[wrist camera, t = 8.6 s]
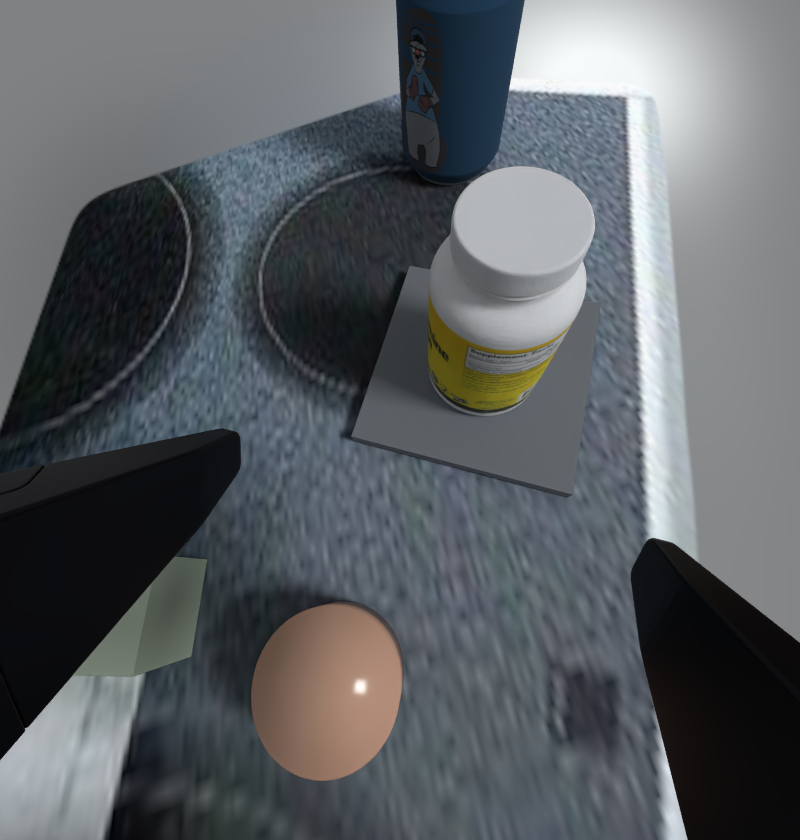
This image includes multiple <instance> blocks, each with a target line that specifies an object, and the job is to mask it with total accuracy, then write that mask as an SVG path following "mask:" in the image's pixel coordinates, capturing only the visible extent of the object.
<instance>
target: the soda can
mask: <svg viewBox="0 0 800 840" xmlns="http://www.w3.org/2000/svg"><path fill="white" fill-rule="evenodd" d="M524 1H525V0H396V8H397V30H398V54H399V76H400V99H401V121H402V143H403V150H404V153H405V155H406V157H407V159H408V160H409V162H410V163H411V165H412V166H413V167H414V169H415V170H416V171H417V173H418V174H419V175H420V176H421V177H422V178H424V179H425V180H427V181H429V182H432V183H435V184H439V185H447V186H451V185H459V184H463V183H466V182H469V181H471V180H473V179H474V178H476V177H477V176H478V175H479V174H480V173H481V172H482V171H483V170H484V169H485V168H486V167H487V166H488V164H489V163H490V162H491V161H492V160H493V158H494V157H495V155H496V153H497V151H498V148H499V143H500V138H501V132H502V126H503V121H504V115H505V109H506V103H507V98H508V92H509V86H510V81H511V75H512V69H513V63H514V58H515V52H516V46H517V41H518V35H519V29H520V23H521V18H522V12H523V6H524Z"/></svg>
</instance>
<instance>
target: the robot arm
mask: <svg viewBox="0 0 800 840" xmlns="http://www.w3.org/2000/svg"><path fill="white" fill-rule="evenodd" d="M240 465H241V446H240V436H239V434H238V433H237V432H235V431H231V430H227V429H215V430H210V431H206V432H201V433H196V434H191V435H186V436H181V437H177V438H172V439H167V440H162V441H157V442H152V443H148V444H143V445H138V446H133V447H128V448H123V449H119V450H114V451H109V452H104V453H99V454H94V455H90V456H85V457H80V458H75V459H70V460H65V461H61V462H56V463H51V464H47V465H46V466H43V465H41V466H36V467H31V468H26V469H21V470H16V471H11V472H6V473H1V474H0V760H1V759H2V757H3V756H4V755H5V754H6V753H7V752H8V750H9V749H10V748H11V747H12V746H13V745H14V743H15V742H16V741H17V740H18V739H19V738H20V736H21V735H22V734H23V733H24V732H25V728H27V727H29V725H30V724H31V723H32V722H33V721H34V720H35V719H36V717H37V716H38V715H39V714H40V713H41V712H42V710H43V709H44V708H45V707H46V706H47V705H48V703H49V702H50V701H51V700H52V699H53V698H54V696H55V695H56V694H57V693H58V692H59V691H60V689H61V688H62V687H63V686H64V685H65V684H66V682H67V681H68V680H69V679H70V678H71V677H72V675H73V674H74V673H75V672H76V671H77V670H78V668H79V667H80V666H81V665H82V664H83V663H84V662H85V660H86V659H87V658H88V657H89V656H90V655H91V653H92V652H93V651H94V650H95V649H96V648H97V646H98V645H99V644H100V643H101V642H102V641H103V639H104V638H105V637H106V636H107V635H108V634H109V632H110V631H111V630H112V629H113V628H114V627H115V625H116V624H117V623H118V622H119V621H120V620H121V618H122V617H123V616H124V615H125V614H126V613H127V611H128V610H129V609H130V608H131V607H132V606H133V605H134V603H135V602H136V601H137V600H138V599H139V598H140V596H141V595H142V594H143V593H144V592H145V591H146V589H147V588H148V587H149V586H150V585H151V584H152V582H153V581H154V580H155V579H156V578H157V577H158V575H159V574H160V573H161V572H162V571H163V570H164V568H165V567H166V566H167V565H168V564H169V563H170V561H171V560H172V559H173V558H174V557H175V556H176V554H177V553H178V552H179V551H180V550H181V549H182V547H183V546H184V545H185V544H186V543H187V542H188V541H189V539H190V538H191V537H192V536H193V535H194V534H195V532H196V531H197V530H198V529H199V527H200V526H201V525H202V524H203V522H204V521H205V520H206V518H207V517H208V516H209V514H210V513H211V511H212V510H213V508H214V507H215V506H216V504H217V503H218V501H219V500H220V498H221V497H222V495H223V494H224V492H225V491H226V490H227V488H228V487H229V485H230V484H231V482H232V481H233V479H234V478H235V477H236V475H237V473H238V472H239V469H240ZM631 585H632V592H633V600H634V607H635V615H636V622H637V630H638V637H639V644H640V650H641V654H642V659H643V663H644V667H645V671H646V675H647V679H648V683H649V687H650V691H651V695H652V699H653V703H654V707H655V711H656V715H657V719H658V723H659V727H660V731H661V735H662V739H663V743H664V747H665V751H666V755H667V759H668V763H669V767H670V771H671V775H672V779H673V783H674V787H675V791H676V795H677V799H678V803H679V807H680V811H681V815H682V819H683V823H684V827H685V831H686V835H687V839H688V840H800V643H799V642H798V641H797V640H795V639H794V638H793V637H792V636H791V635H789V634H788V633H787V632H785V631H784V630H783V629H782V628H780V627H779V626H778V625H777V624H775V623H774V622H773V621H772V620H770V619H769V618H768V617H766V616H765V615H764V614H762V613H761V612H760V611H759V610H758V609H756V608H755V607H754V606H753V605H751V604H750V603H749V602H747V601H746V600H745V599H744V598H742V597H741V596H740V595H739V594H737V593H736V592H735V591H733V590H732V589H731V588H730V587H728V586H727V585H726V584H725V583H723V582H722V581H721V580H719V579H718V578H717V577H716V576H714V575H713V574H712V573H711V572H709V571H708V570H707V569H705V568H704V567H703V566H702V565H701V564H699V563H698V562H697V561H695V560H694V559H693V558H692V557H690V556H689V555H688V554H687V553H685V552H684V551H683V550H681V549H680V548H679V547H678V546H676V545H675V544H674V543H671V542H668V541H664V540H660V539H656V538H651V539H649V540H648V541H647V542H646V543H645V545H644V547H643V548H642V550H641V552H640V554H639V556H638V558H637V560H636V562H635V564H634V566H633V568H632V571H631Z"/></svg>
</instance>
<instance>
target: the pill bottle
mask: <svg viewBox="0 0 800 840" xmlns="http://www.w3.org/2000/svg"><path fill="white" fill-rule="evenodd" d="M594 230H595V219H594V213H593V210H592V207H591V205H590V203H589V201H588V199H587V198H586V196H585V195H584V194H583V192H582V191H581V190H580V189H579V188H578V187H577V186H576V185H574V184H573V183H572V182H571V181H569V180H568V179H566V178H564V177H562V176H561V175H559V174H556V173H554V172H551V171H548V170H544V169H541V168H535V167H524V166H517V167H508V168H502V169H498V170H495V171H492V172H489V173H486V174H484V175H483V176H481V177H479V178H478V179H476V180H475V181H473V182H472V183H471V184H470V185H468V186H467V187H466V188H465V190H464V191H463V192H462V194H461V195H460V196H459V198H458V200H457V202H456V204H455V207H454V211H453V215H452V222H451V233H450V235H449V236H448V237H447V238H446V240H445V241H444V242H443V243H442V245H441V246H440V248H439V249H438V251H437V253H436V255H435V257H434V260H433V262H432V265H431V270H430V275H429V281H428V286H429V305H428V318H429V319H428V370H429V376H430V379H431V382H432V384H433V386H434V388H435V390H436V391H437V393H438V394H439V395H440V397H441V398H442V399H443V400H444V401H445V402H446V403H448V404H449V405H450V406H452V407H453V408H455V409H457V410H459V411H462V412H465V413H468V414H472V415H477V416H494V415H499V414H502V413H505V412H508V411H510V410H512V409H514V408H516V407H517V406H519V405H520V404H521V403H522V402H523V401H524V400H525V399H526V398H527V397H528V396H529V395H530V393H531V392H532V390H533V389H534V387H535V386H536V384H537V382H538V381H539V379H540V378H541V376H542V374H543V372H544V371H545V369H546V368H547V366H548V364H549V363H550V361H551V359H552V357H553V356H554V354H555V352H556V351H557V349H558V347H559V346H560V344H561V342H562V340H563V339H564V337H565V335H566V334H567V332H568V330H569V328H570V327H571V325H572V323H573V322H574V320H575V318H576V316H577V314H578V312H579V310H580V308H581V305H582V303H583V300H584V296H585V291H586V271H585V267H584V263H583V259H584V256H585V254H586V252H587V250H588V248H589V246H590V244H591V241H592V238H593V235H594Z"/></svg>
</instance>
